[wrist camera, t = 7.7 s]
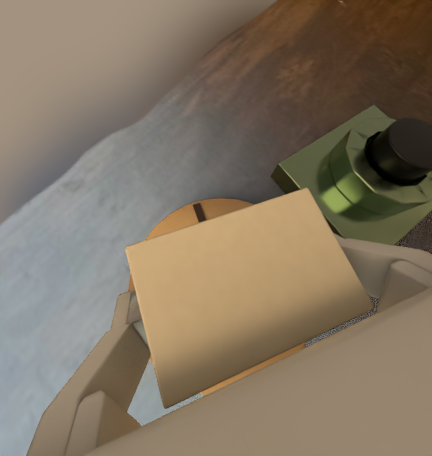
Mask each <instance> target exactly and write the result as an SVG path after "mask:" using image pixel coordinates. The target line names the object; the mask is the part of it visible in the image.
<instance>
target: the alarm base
mask: <svg viewBox="0 0 432 456" xmlns="http://www.w3.org/2000/svg"><path fill="white" fill-rule="evenodd" d="M395 121H397V120H395V119H392V118H389V117H388V116H386V115H385V114H384V113H383V112H382V111H381V110H380V109H378V108H377V107H376V106H375V105H372V106H371V107H369V108H367V109H366V110H364V111H363V112H361V113H359V114H358V115H356V116H355V117H353V118H351V119H350V120H348V121H346V122H345V123H343V124H342V125H340V126H338V127H337V128H335V129H333V130H332V131H330V132H329V133H327V134H325V135H324V136H322V137H320V138H319V139H317V140H316V141H314V142H312V143H311V144H309V145H308V146H306V147H304V148H303V149H301V150H299V151H298V152H296V153H295V154H293V155H291V156H290V157H288V158H286V159H285V160H283V161H282V162H280V163H278V165H277V167H276V168H275V170H274V172H273V173H272V175H271V177H272V178H273V180H274V181H275V182H276V183H277V184H278V185H279V186H280V188H281V189H282V190H283V191H284V192H285V193H286V194H289V193H292V192H295V191H298V190H301V189H304V188H308V189H309V191H310V193H311V194H312V196H313V198H314V200H315V202H316V203H317V205H318V207H319V209H320V211H321V212H322V214H323V216H324V218H325V219H326V221H327V223H328V225H329V227H330V228H331V230H332V232H333V233H335V234H336V235H338V236H340V237H342V238H344V239H347V238H350V239H357V240H363V241H369V242H376V243H382V244H389V245H395V244H396V243H397V242H398V241H400V240H401V239H402V238H403V237H404V236H405V235H406V234H407V233H408V232H409V231H410V230H412V229H413V228H414V227H415V226H416V225H417V224H418V223H419V222H420V221H421V220H422V219H424V218H425V217H426V216H427V215H428V214H429V213H430V212H431V211H432V172H430V173H428V174H426V175H424V176H422V177H420V178H418V179H416V180H414V181H412V182H410V183H407V184H394V183H391V182H389V181H387V180H384V179H383V178H382V177H381V176H380V175H378V174H377V173H376V172H375V171H374V170H373V169H372V168H371V167H370V166H369V163H368V161H367V158H366V155H365V151H366V148H367V146H368V144H369V143H370V142H371V141H372V140H374V139H375V138H376V137H377V136H378V135H379V134H380V133H382V132H383V131H384V130H385V129H386V128H387V127H389V126H390V125H391V124H392V123H393V122H395Z"/></svg>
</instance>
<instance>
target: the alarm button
mask: <svg viewBox="0 0 432 456" xmlns="http://www.w3.org/2000/svg"><path fill="white" fill-rule="evenodd" d="M365 155H366V158H367V161H368V163H369V166H370V167H371V168H372V169H373V170H374V171H375V172H376V173H377V174H378V175H380V176H381V177H382V178H383V179H384V180H387V181H389V182H391V183H394V184H407V183H410V182H412V181H414V180H416V179H418V178H420V177H422V176H424V175H426V174H428V173H430V172H432V126H431V125H429V124H427V123H425V122H423V121H421V120H417V119H413V118H403V119H399V120H397V121H395V122H393V123H392V124H391V125H390V126H389V127H387V128H386V129H385V130H384V131H383V132H382V133H380V134H379V135H378V136H377V137H376V138H375V139H374V140H372V141H371V142H370V143H369V144H368V146H367V148H366V151H365Z"/></svg>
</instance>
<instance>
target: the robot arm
mask: <svg viewBox="0 0 432 456" xmlns="http://www.w3.org/2000/svg"><path fill="white" fill-rule="evenodd" d="M333 234H334V236H335V237H336V239H337V241H338V243H339V244H340V246H341V248H342V250H343V252H344V253H345V255H346V257H347V259H348V261H349V262H350V264H351V266H352V268H353V270H354V271H355V273H356V275H357V277H358V278H359V280H360V282H361V284H362V286H363V287H364V289H365V291H366V293H367V295H370V296H372V297H375V298H377V299H379V300H378V303H377V306H376V312H378V313H376V314H374V315H372V316H370V317H368V318H365V319H363V320H361V321H359V322H357V323H355V324H353V325H351V326H349V327H347V328H345V329H343V330H341V331H338V332H336V333H334V334H332V335H330V336H328V337H326V338H324V339H322V340H320V341H318V342H316V343H313V344H311V345H309V346H307V347H305V348H303V349H301V350H299V351H297V352H295V353H293V354H291V355H289V356H287V357H284V358H282V359H280V360H278V361H276V362H274V363H272V364H270V365H268V366H266V367H264V368H262V369H260V370H257V371H255V372H253V373H251V374H249V375H247V376H245V377H243V378H241V379H239V380H237V381H235V382H233V383H231V384H228V385H226V386H224V387H222V388H220V389H218V390H216V391H214V392H212V393H210V394H208V395H206V396H204V397H201V398H199V399H197V400H195V401H193V402H191V403H189V404H187V405H185V406H183V407H181V408H179V409H177V410H175V411H172V412H170V413H168V414H166V415H164V416H162V417H160V418H158V419H156V420H154V421H152V422H150V423H148V424H145V425H143V426H141V425H140V424H139V423H138V422H137V421H136V420H135V419H134V418H133V417H132V416H130V415H129V414H128V413H127V410H128V408H129V406H130V403H131V401H132V398H133V396H134V394H135V391H136V389H137V387H138V384H139V382H140V380H141V377H142V375H143V373H144V370H145V368H146V365H147V363H148V361H149V358H150V356H151V353H150V349H149V345H148V341H147V336H146V332H145V328H144V324H143V320H142V316H141V312H140V308H139V303H138V299H137V295H136V291H135V289H134V290H131V291H128V292H125V293H122V294H120V295H119V296H118V298H117V302H116V307H115V311H114V316H113V321H112V325H111V330H110V331H108V332H106V333H105V335H104V336H103V337H102V338H101V340H100V341H99V342H98V343H97V345H96V346H95V347H94V349H93V350H92V351H91V352H90V354H89V355H88V356H87V358H86V359H85V360H84V361H83V363H82V364H81V365H80V367H79V368H78V369H77V370H76V372H75V373H74V374H73V375H72V377H71V378H70V379H69V381H68V382H67V383H66V384H65V386H64V387H63V388H62V390H61V391H60V392H59V393H58V395H57V396H56V397H55V398H54V400H53V401H52V402H51V404H50V405H49V406H48V407H47V409H46V410H45V411H44V413H43V414H42V417H41V419H40V422H39V424H38V427H37V429H36V432H35V434H34V437H33V440H32V442H31V445H30V447H29V450H28V452H27V455H26V456H432V254H430V253H428V252H426V251H423V250H420V249H414V248H408V247H401V246H395V245H389V244H382V243H376V242H369V241H363V240H357V239H350V238H347V239H344V238H342V237H340V236H338V235H336V234H335V233H333Z"/></svg>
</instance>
